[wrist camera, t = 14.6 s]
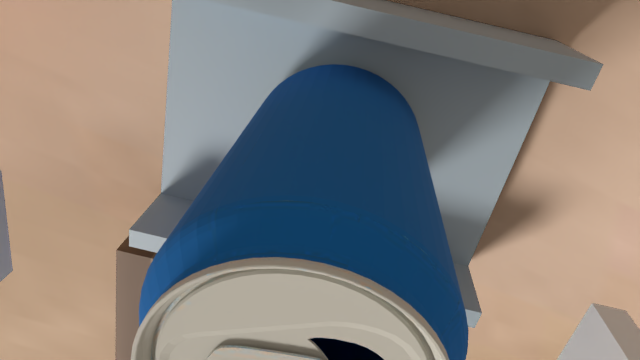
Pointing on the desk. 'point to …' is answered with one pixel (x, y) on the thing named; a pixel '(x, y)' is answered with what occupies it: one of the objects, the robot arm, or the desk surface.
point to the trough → (377, 57)
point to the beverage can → (311, 239)
